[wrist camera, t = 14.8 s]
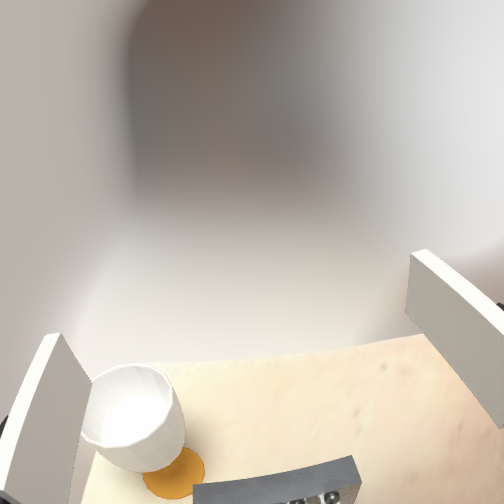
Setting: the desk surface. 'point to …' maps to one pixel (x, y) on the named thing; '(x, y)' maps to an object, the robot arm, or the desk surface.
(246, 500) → the breaker panel
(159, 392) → the cup
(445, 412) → the desk surface
